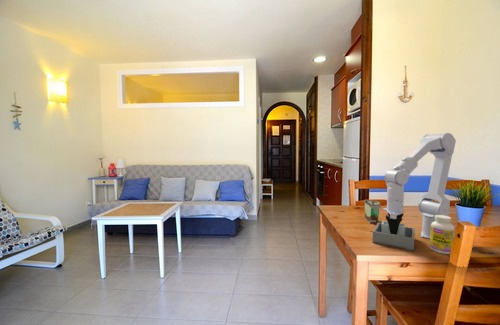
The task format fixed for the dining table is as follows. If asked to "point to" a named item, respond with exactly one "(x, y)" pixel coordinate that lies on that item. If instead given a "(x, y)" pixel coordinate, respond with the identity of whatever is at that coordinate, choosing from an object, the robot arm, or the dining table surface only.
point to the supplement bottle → (441, 234)
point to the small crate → (386, 229)
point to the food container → (372, 211)
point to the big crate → (395, 238)
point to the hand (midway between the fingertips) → (394, 232)
